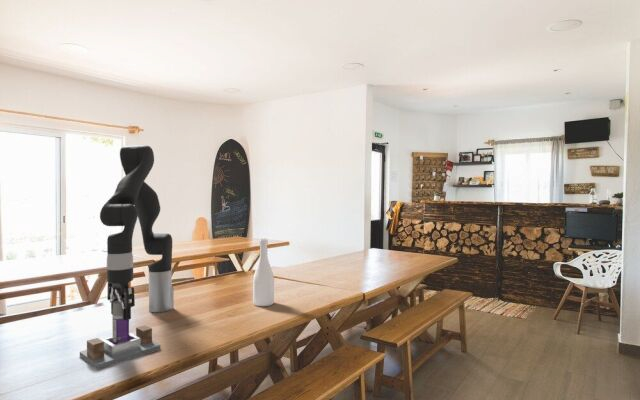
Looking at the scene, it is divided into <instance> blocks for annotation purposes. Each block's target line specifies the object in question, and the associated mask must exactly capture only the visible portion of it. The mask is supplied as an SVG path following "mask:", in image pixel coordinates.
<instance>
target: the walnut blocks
mask: <svg viewBox="0 0 640 400" xmlns="http://www.w3.org/2000/svg"><path fill="white" fill-rule="evenodd" d="M135 336H137V337H139V338H141V344H143V345H144V344H147V343H150V342H152V341H153V328H152V327H150V326H148V325H145V324H144V325H140V326H136V328H135ZM86 350H87V356H89V357H90V358H92V359H93V360H94V359H98V358H101V357H104V342H103V341H102V340H101V339H100V338H98V337H95V338H91V339H88V340H86Z"/></svg>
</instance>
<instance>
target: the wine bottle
mask: <svg viewBox="0 0 640 400" xmlns="http://www.w3.org/2000/svg"><path fill="white" fill-rule="evenodd" d="M272 270H273V269H272V267H271V264H270V261H269V257H268V239H267V238H259V259H258V261H257V265H256V268H255V271H254V275H253V278H252V281H253V282H252V285H253V286H252V287H253V288H252V291H253V292H252V300H253V301H252V302H253V304H254V305H255V306H256V307H257V306H258V307H269V306H272V305H273V304H274V302H275V276H274V272H273V271H272Z"/></svg>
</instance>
